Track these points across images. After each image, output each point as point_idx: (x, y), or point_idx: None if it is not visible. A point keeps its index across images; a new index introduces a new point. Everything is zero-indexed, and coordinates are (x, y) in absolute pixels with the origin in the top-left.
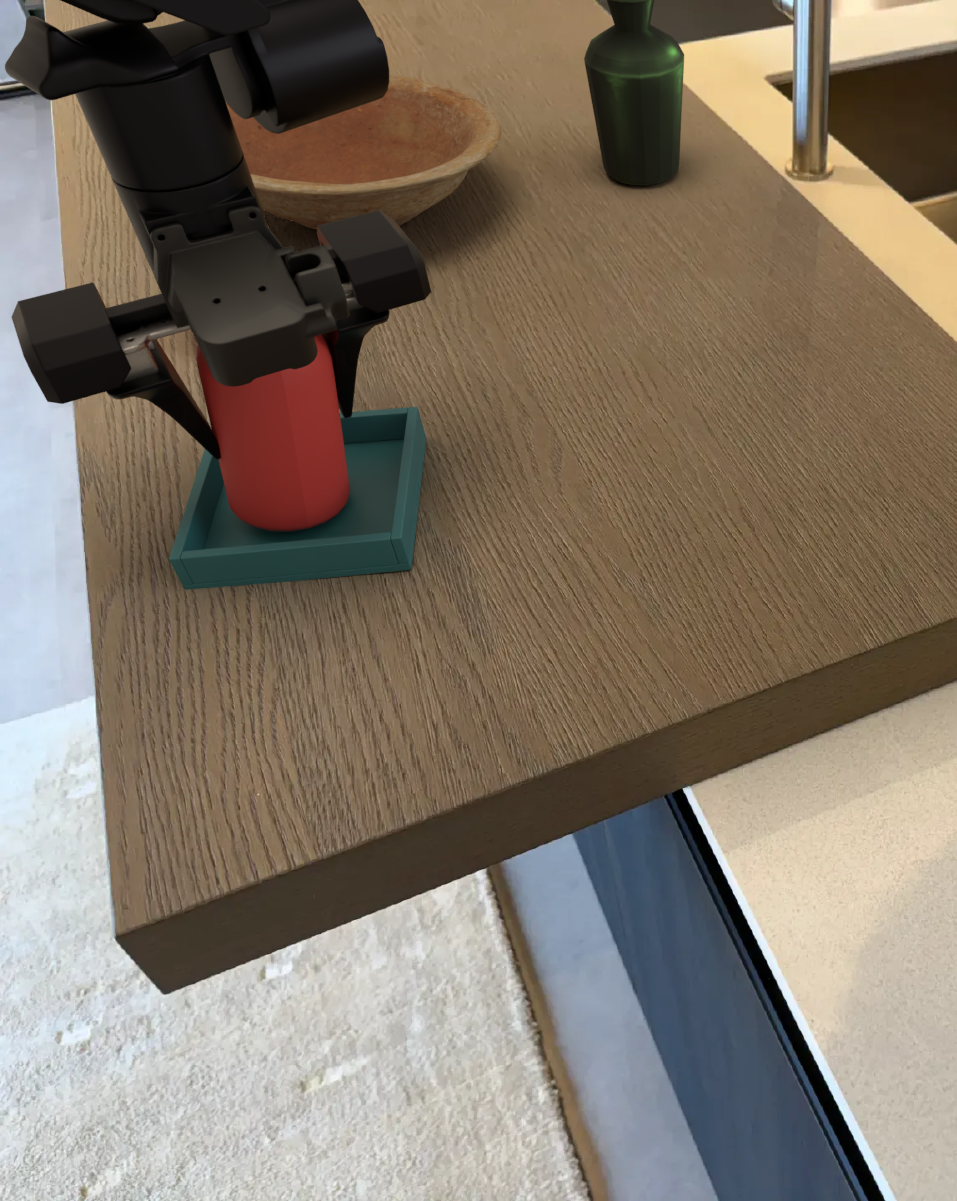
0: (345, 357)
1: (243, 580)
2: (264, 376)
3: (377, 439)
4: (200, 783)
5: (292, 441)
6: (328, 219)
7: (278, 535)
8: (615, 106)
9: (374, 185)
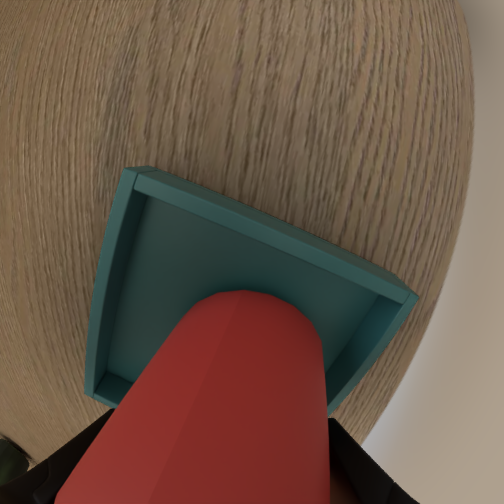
0: (41, 485)
1: (345, 251)
2: None
3: None
4: (426, 38)
5: (197, 401)
6: None
7: None
8: (2, 478)
9: None
